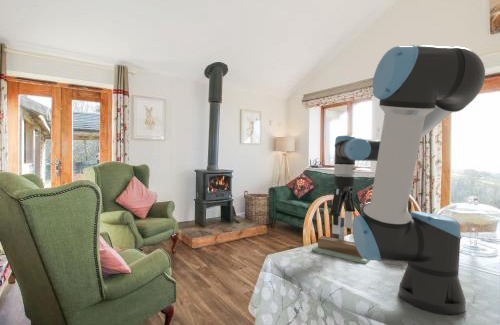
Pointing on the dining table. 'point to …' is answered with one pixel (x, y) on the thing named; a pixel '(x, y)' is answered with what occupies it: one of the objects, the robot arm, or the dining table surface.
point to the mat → (340, 255)
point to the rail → (338, 246)
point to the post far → (342, 228)
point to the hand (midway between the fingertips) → (342, 230)
